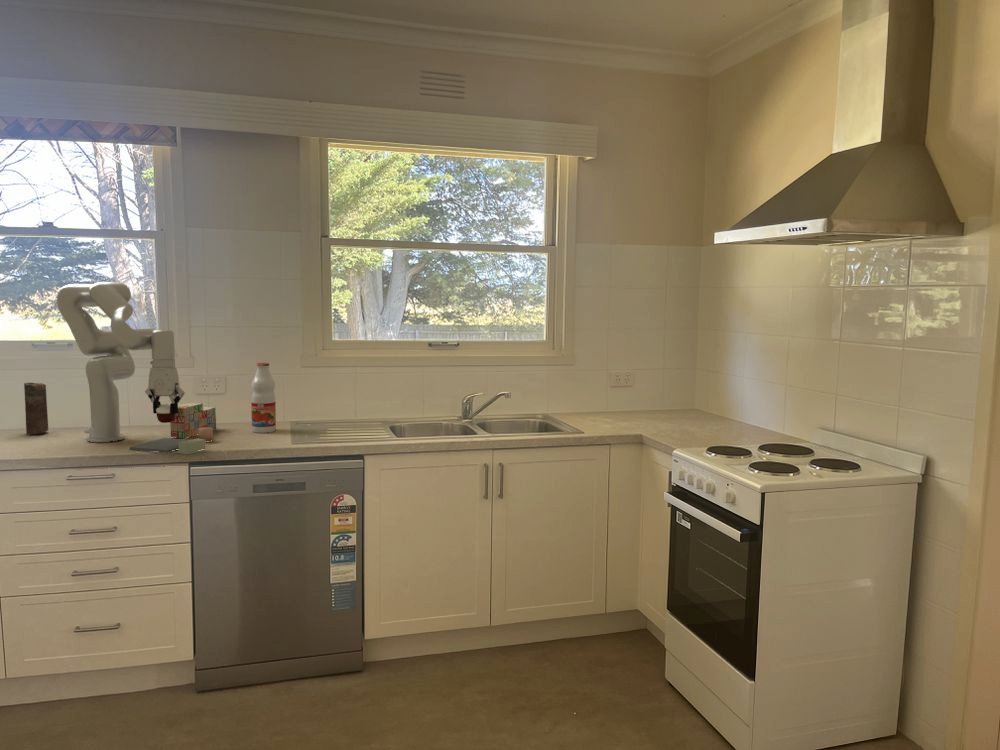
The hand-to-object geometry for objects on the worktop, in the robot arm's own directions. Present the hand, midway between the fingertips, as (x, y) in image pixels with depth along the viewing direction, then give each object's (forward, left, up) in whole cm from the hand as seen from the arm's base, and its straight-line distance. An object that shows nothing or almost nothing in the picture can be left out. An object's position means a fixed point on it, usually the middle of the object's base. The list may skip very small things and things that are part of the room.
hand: (165, 412), depth 265 cm
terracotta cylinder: (+7, +13, -12) cm, 19 cm away
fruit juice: (+16, +38, -13) cm, 43 cm away
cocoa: (0, 0, -3) cm, 3 cm away
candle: (-62, +4, -13) cm, 64 cm away
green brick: (+14, -4, -13) cm, 19 cm away
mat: (0, 0, -12) cm, 12 cm away
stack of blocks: (-7, +24, -13) cm, 28 cm away
